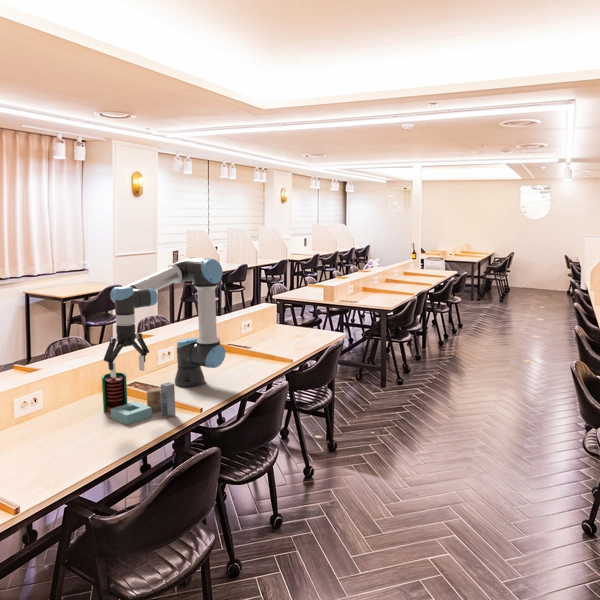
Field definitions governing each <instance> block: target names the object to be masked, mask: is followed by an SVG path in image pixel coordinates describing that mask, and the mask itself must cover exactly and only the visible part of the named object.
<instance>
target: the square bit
mask: <svg viewBox="0 0 600 600" xmlns="http://www.w3.org/2000/svg"><path fill="white" fill-rule="evenodd" d="M160 390H161V406H162V411H161V416H162V417H163V418H166V419H170V418H173V417H175V416H176V397H175V395H176V394H175V383H172V382H169V381H167V382H165V383H161V384H160Z"/></svg>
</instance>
